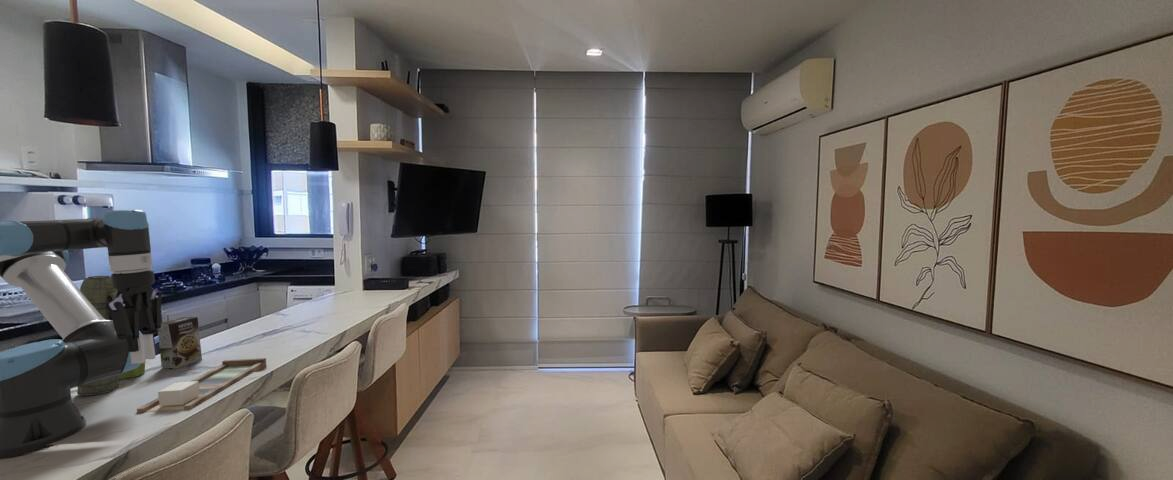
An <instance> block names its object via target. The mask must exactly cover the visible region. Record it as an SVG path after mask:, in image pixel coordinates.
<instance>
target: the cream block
mask: <svg viewBox="0 0 1173 480" xmlns="http://www.w3.org/2000/svg"><path fill="white" fill-rule="evenodd" d="M157 394H158V398H159V404H160V406H172V405H184V404H186V403H187V402H189V401H191V400H192V399H194V398H196V397H198V396H199V395H200V389H199V381H193V382H190V381H181V382H180V381H178V382H175V383H172V384H170V385H168V386H166V387H164V388H163V389H161V390H159V391H157Z"/></svg>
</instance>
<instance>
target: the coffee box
mask: <svg viewBox="0 0 1173 480" xmlns="http://www.w3.org/2000/svg"><path fill="white" fill-rule="evenodd" d="M157 330H159V331H158V333H157V335H158V345H159V346H158V347H159V353H160V354H159V355H160V365H161V368H162V367H163V368H162V369H169V368H173V370H176V369H179V368H180V369H181V368H182V367H185V366H188V365H191V364H194V363H197V362H199V361H202V360H203V357H202V356H203V355H202V346H201V337H200V327H199V318H198V317H197V316H187V317H186V316H185V317H179V318H175V319H172V320H167V321H161V328H160V329H157Z"/></svg>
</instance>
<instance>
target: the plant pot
mask: <svg viewBox="0 0 1173 480" xmlns="http://www.w3.org/2000/svg"><path fill="white" fill-rule="evenodd" d="M145 372H146V362H145V363H141V365H140V366H139V367H137V368H135V369H133V370H130V371H127V372H124V373H123V374H120V379H119V380H125V379H124V378H126V379H127V378H131V377H132V378H136V377H139V376H142V375H143V374H144V373H145ZM135 376H136V377H135Z"/></svg>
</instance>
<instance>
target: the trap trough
mask: <svg viewBox="0 0 1173 480" xmlns="http://www.w3.org/2000/svg"><path fill="white" fill-rule="evenodd" d="M221 363H222V364H220V365H219V366H216V367H214V368H213V369H211V370H209V371H207V372H205V373H203V374H201V375H199V376H197V377H196V378H194V379H192V380H190V381H189V382H193V381H199V389H200V395H199V396H198V397H196V398H194V399H192V400H191V401H189V402H187V403H186V404H184V405H172V406H160V404H159V397H157V398H155V399H153V400H152V401H150V402H147V403H146V404H144V405H141V406H139V407H138V408H137V409H136V413H137V414H138V413H139V414H140V413H141V414H142V413H153V412H166V411H167V412H168V411H181V410H182V411H183V410H192V409H193V408H195V407H197V406H198V405H200V404H202V403H203V402H205V401H206V400H208V399H210V398H211V397H213V396H215V395H216V394H218V393H220V392H221V391H223V390H225V389H227V388H228V387H230V386H231V385H233V384H235V383H236V382H238V381H240V380H241V379H243V378H245V377H246V376H248V375H250V374H252V373H257V372H260V371H261V370H263V369H264V368H266V367H267V366H268V365H267V358H266V357H260V358H243V359H226V360H225V359H224V360H223V361H222V362H221Z"/></svg>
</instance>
